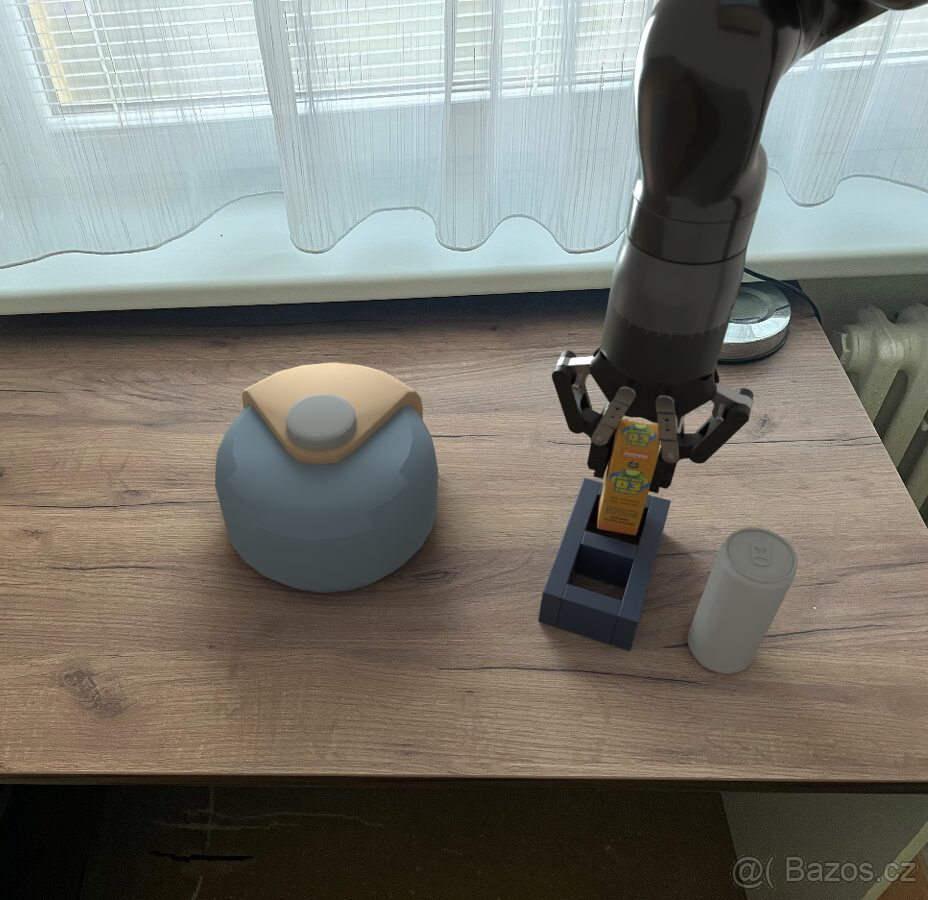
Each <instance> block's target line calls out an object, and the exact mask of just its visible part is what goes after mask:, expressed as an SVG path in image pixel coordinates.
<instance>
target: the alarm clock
mask: <svg viewBox="0 0 928 900" xmlns="http://www.w3.org/2000/svg"><path fill="white" fill-rule="evenodd" d="M241 398H242V407H243V409H242V410H241V412H240V413H238V415H237V416H236V417H235V419H234V420H233V422H232V423H231V424H230V425H229V427H228V428H227V429H226V431H225V433H224V435H223V437H222V440H221V443H220V445H219V447H218V449H217V452H216V459H215V472H214V487H215V491H216V494H217V499H218V504H219V507H220V510H221V514H222V518H223V522H224V526H225V529H226V532H227V536H228V539H229V543H230V544H231V545H232V547H233V548H234V549H235V551H236V552H237V554H238V555H239V556H240V558H241V559H242V561H243V562H245V564H247V565H249V566H250V567H251V568H253V569H254V570H255V571H257V572H258V573H259V574H260V575H262V576H263V577H266V578H268V579H271V580H273V581H275V582H278V583H279V584H282V585H285V586H288V587H290V588H293V589H296V590H300V591H308V592H315V593H321V594H323V593H324V594H325V593H336V592H337V593H338V592H348V591H352V590H355V589H358V588H362V587H366V586H369V585H373V584H374V583H377V582H378V581H379V580H382V579H383V578H385V577H387V576H388V575H390V574H392V573H394V572H396V570H397V569H399V568H400V567H402V566H404V565H405V564H406V563H407V562H408V561H409V560H410V559H411V558H412V557H413V556H414V555H415V554H416V553H417V552H418V551H419V550H420V549H421V548H422V547H423V545H424V543H425V541H426V540H427V539H428V537H429V534H430V533H431V531H432V529H433V528H434V524H435V519H436V515H437V509H438V497H439V496H438V493H439V491H438V489H439V488H438V487H439V486H438V484H439V482H438V479H439V478H438V477H439V468H438V461H437V455H436V447H435V445H434V441H433V436H432V434H431V432H430V430H429V428H428V427H427V425H426V423H425V422H424V407H423V401H422V396H420V394H419V393H418V392H417V391H416V390H415V389H414V388H412V387H411V386H409V385H407V384H405V383H404V382H402V381H401V380H399V379H397V378H395V377H394V376H393V375H391V374H389V373H387V372H385V371H383V370H380V369H376V368H372V367H368V366H365V365H361V364H353V363H342V362H323V363H312V364H303V365H299V366H295V367H290V368H287V369H283V370H279V371H277V372H275V373H273V374H271V375H270V376H268V377H265V378H264V379H261V380H260V381H258V382H255V383H254V384H252V385H250V386H248V387H245V388H244V389H243V391H242V395H241Z"/></svg>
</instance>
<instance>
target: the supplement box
mask: <svg viewBox="0 0 928 900" xmlns="http://www.w3.org/2000/svg"><path fill="white" fill-rule="evenodd" d="M660 446H661V440H659V433H658V423H653V422H651V423H646V422H641V421H634V420H629V419H628V418H622V420H621V421H620V423H619V425H618V427H617V428H616V430H615V433H614V438H613V443H612V447H611V452H610V457H609V461H608V465H607V468H606V471H605V475H604V481H603V483H604V485H603V490H602V494H601V498H600V503H599V512H598V522H597V526H596V527H597V529H598V530H602V531H607V532H614V533H618V534H619V533H620V534H624V533H625V535H628V534H631V535H636V534H637V531H638V527H639V524H640V520H641V517H642V513H643V510H644V507H645V503H646V499H647V495H649V492H650V491H649V488H650V484H651V481H652V477H653V474H654V470H655V467H656V463H657V459H658V455H659V451H660ZM631 535H630V536H631Z"/></svg>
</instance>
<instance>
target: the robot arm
mask: <svg viewBox="0 0 928 900" xmlns="http://www.w3.org/2000/svg"><path fill="white" fill-rule="evenodd" d="M925 5H928V0H658V1H657V3H655V6H654V7H653V9H652V11H651V13H650V15H649V17H648V19H647V21H646V24H645V27H644V29H643V32H642V36H641V40H640V41H639V47H638V51H637V56H636V60H635V68H634V77H633V110H634V113H633V114H634V138H635V139H634V140H635V148H636V156H637V170H636V173H635V177H634V180H633V181H634V182H633V188H632V191H631V192H632V193H631V197H630V203H629V208H628V214H627V219H626V220H627V221H626V225H625V230H624V232H623V237H622V239H621V242H620V246H619V248H618V251H617V254H616V258H615V261H614V262H615V263H614V268H613V274H612V279H611V285H610V291H609V295H608V301H607V307H606V312H605V318H604V324H603V329H602V335H601V340H600V341H601V342H600V345H599V347H598V348H597V349H595V350H594V352H593V354H592V355H590V356H589V355H588V356H577V354H576V353H575V352H574V351H572V350H563V351H562V352H561V353H560V355H559V358H558V359H557V362H556V364H555V367H554V368H553V371H552V374H551V380H552V383H553V387H554V389H555V392H556V394H557V398H558V401H559V404H560V408H561V410H562V412H563V415H564V418H565V422H566V426H567V428H568V430H569V431H570V432H571V433H573V434H576V435H578V434H582V433H583V434H585V435H586V436H587V437H589V439H590V445H589V446H590V447H589V452H588V456H587V457H588V458H587V461H586V462H587V463H586V465H587V468H588V470H592V471H593V472H594V473H593V477H594V478H598V479H601V480H603V478H605V475H606V471H607V466H608V461H609V457H610V452H611V447H612V443H613V438H614V433H615V430H616V428H617V427H618V425H619V423H620V421H621V420H622V419H624V417H627V418H642V419H643V420H647V421H648V422H651V423H655V424H658V433H659V440H660V447H659V454H658V459H657V463H656V467H655V470H654V474H653V477H652V481H651V484H650V488H649V492H651V493H654V494H659V491H660V488H662V489H665V490H667V489H668V488H669V487H670V486H671V485H672V483H673V478H674V475H675V471H676V468H677V464H678V462H679V461H681V460H686V459H687V460H688V459H689V460H690V461H691V462H692V463H694V464H705V463H706V462H707V461H708V460H709V459H710V458H711V457H712V456H713V455H714V454H715V453H717V451H718V450H720V449H721V448H722V447H723V446H724V445H725V444H726V443H727V442H728V441H730V439H731V438H732V437H733V436H734V435H736V433H738V432H739V431H740V430H741V428H743V427H744V426H745V425H746V424H747V423H748V422H749V420H750V416H751V412H752V407H753V401H754V397H755V395H754V392H753V391H752V389H749V388H746V387H741V388H738V389H736V390H733V389H731V388H730V387H728V386H726V385H724V384H722V383H720V375H719V372H718V369H717V364H718V361H719V357H720V354H721V351H722V348H723V344H724V341H725V338H726V335H727V331H728V328H729V325H730V321H731V318H732V317H731V316H732V315H733V311H734V308H735V305H736V302H737V299H738V297H739V296H740V293H741V284H742V281H743V277H744V272H745V268H746V260H747V259H746V257H747V252H748V246H749V242H750V239H751V236H752V232H753V229H754V226H755V222H756V219H757V216H758V213H759V210H760V209H759V208H760V205H761V201H762V199H763V194H764V190H765V187H766V183H767V176H768V168H769V163H768V155H767V152H766V150H765V147H764V145H763V144H762V143H761V138H762V135H763V130H764V126H765V123H766V122H765V121H766V117H767V114H768V111H769V107H770V104H771V102H772V99H773V96H774V95H775V92H776V90H777V87H778V84H779V83H780V80H781V79H782V78H783V77H784V76H785V74H787V73H788V72H789V71H790V70H791V69H792V68H793V67H794V66H795V65H796V64H797V63H798V62H799V61H800V60H802V59H803V58H804V57H806V56H808V55H809V54H811V53H813V52H814V51H816V50H817V49H819V48H821V47H822V46H824V45H826V44H828V43H829V42H831V41H832V40H834V39H836V38H838V37H840V36H842V35H844V34H846V33H848V32H850V31H852V30H854V29H855V28H857V27H859V26H862V25H863V24H866V23H867V22H869V21H872V20H873V19H875V18H877V17H879V16H881V15H883V14H885V13H886V12H888V11H895V12H905V11H911V10H914V9H917V8H920V7H923V6H925ZM590 375H591V377H592V378H593V380H594V382H595V383H596V386H597V387H598V388H599V390H600V391H601V392H602V394H603V396H604V397H605V399H606V400H607V401H606V403H605V404H604V406H603V408H602V410H601V412H597V411H596V410H595V409H593V405H592V402H591V399H590V395H589V394H588V389H587V386H586V383H587V380H588V378H589V376H590ZM709 402H712V403H713V406H712V410H711V416H710V417H709V418H707V420H705V421H704V423H703V424H701V426H700V427H698V429H697V430H696V431H695V432H691V433H688V432H687V433H686V426H685V425H686V424H685V417H686V415H688V414H690V413H691V412H693V411H695V410H697V409H698V408H700V407H701V406H703V405H705V404H707V403H709Z"/></svg>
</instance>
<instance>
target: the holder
mask: <svg viewBox="0 0 928 900" xmlns="http://www.w3.org/2000/svg"><path fill="white" fill-rule="evenodd" d="M603 485H604V482H601V481H597V480H595V479H591V478H586V477H584V478H583V479H582V482H581V484H580V487H579V491H578V493H577V496H576V499H575V501H574V505H573V507H572V511H571V513H570V516H569V518H568V521H567V524H566V526H565V529H564V532H563V535H562V537H561V541H560V543H559V546H558V548H557V552H556V555H555V557H554V560H553V563H552V565H551V568H550V571H549V574H548V577H547V578H546V582H545V584H544V588H543V590H542V595H541V600H540V607H539V613H538V622H539V623H542V624H545V625H548V626H552V627H555V628H558V629H560V630H564V631H566V632H570V633H573V634H576V635H579V636H582V637H585V638H587V639H591V640H593V641H597V642H601V643H603V644H607V645H610V646H612V647H616V648H618V649H622V650H625V651H628V652H630V651H631V648H632V645H633V642H634V639H635V636H636V632H637V629H638V625H639V623H640V619H641V616H642V612H643V608H644V603H645V600H646V596H647V593H648V588H649V585H650V581H651V578H652V573H653V571H654V567H655V563H656V559H657V555H658V551H659V548H660V543H661V539H662V537H663V532H664V529H665V525H666V521H667V517H668V514H669V510H670V507H671V503H672V500H670V499H667V498H663V497H659V496H655V495H651V494H648V495H647V499H646V503H645V507H644V510H643V513H642V517H641V520H640V524H639V527H638V531H637V534H636V535H631V534H627V535H628V536H632V537H635V538H639V541H638V545H637V544H633V543H630V542H627V541H623V540H621V539H616V538H612V537H609V536H605V535H603V534H598V533H595V532H591V531H590V529H591V527H592V526H596V527H597V522H598V512H599V503H600V498H601V494H602V490H603ZM623 534H625V533H623ZM625 535H626V534H625ZM576 574H577V575H580V576H582V577H586V578H589V579H592V580H596V581H599V582H602V583H605V584H608V585H611V586H615V587H618V588H622V589H625V590H624V593H623V597H622V600H621V599H618V598H614V597H611V596H608V595H606V594H605V595H604V594H602V593H598V592H595V591H593V590H592V591H591V590H589V589H585V588H582V587H579V586H576V585H572V583H573V580H574V577H575V575H576Z"/></svg>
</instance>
